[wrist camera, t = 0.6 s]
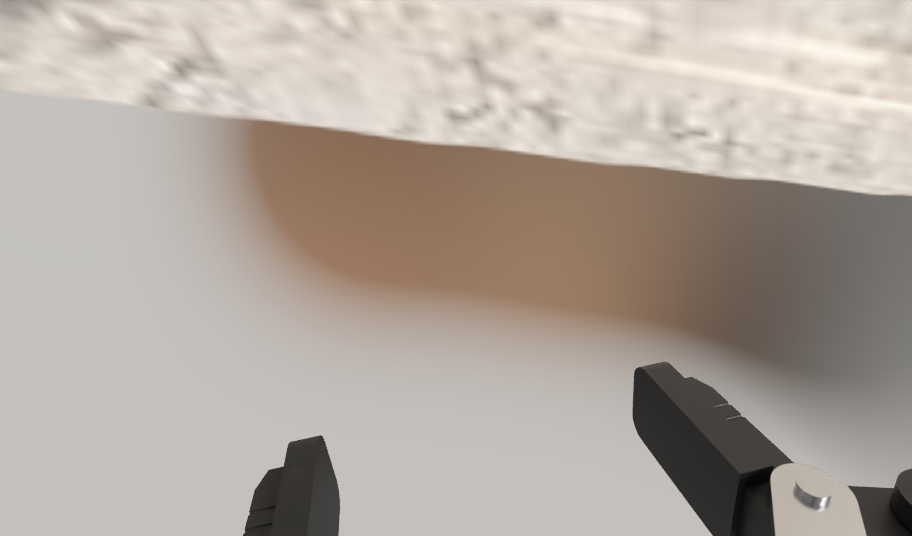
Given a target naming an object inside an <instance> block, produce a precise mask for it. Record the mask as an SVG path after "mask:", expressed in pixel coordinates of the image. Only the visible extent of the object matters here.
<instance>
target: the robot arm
mask: <svg viewBox="0 0 912 536" xmlns="http://www.w3.org/2000/svg"><path fill="white" fill-rule="evenodd" d="M633 421H634V425H635V428H636V430H637V433H638V435H639V436H640V438H641V439H642V441H643V442H644V444H645V445H646V446H647V448H648V449H649V450H650V452H651V453H652V454H653V456H654V457H655V458H656V460H657V461H658V462H659V464H660V465H661V466H662V468H663V469H664V471H665V472H666V473H667V475H668V476H669V477H670V478H671V480H672V481H673V483H674V484H675V485H676V487H677V488H678V489H679V491H680V492H681V493H682V494H683V496H684V497H685V499H686V500H687V501H688V503H689V504H690V506H691V507H692V508H693V510H694V511H695V512H696V514H697V515H698V516H699V518H700V519H701V520H702V522H703V523H704V524H705V526H706V527H707V528H708V530H709V531H710V532H711V534H712V535H713V536H912V469H909V470H906V471H904V472H902V473H900V475H899V476H898V478H897V481H896V484H895V486H894V488H876V487H857V486H856V487H855V486H847V485H845V484H844V483H843V482H842V481H841V480H839V479H838V478H836V477H835V476H833V475H832V474H830V473H828V472H826V471H824V470H822V469H819V468H816V467H813V466H810V465H805V464H797V463H793V462H792V461H791V460H790V459H789V458H788V457H787V456H786V455H784V453H783V452H781V451H780V450H779V449H778V448H777V447H776V446H775V445H774V444H773V443H772V442H771V441H769V440H768V439H767V438H766V437H765V436H764V435H763V434H762V433H761V432H760V431H759V430H758V429H757V428H755V427H754V426H753V425H752V424H751V423H750V422H749V421H748V420H747V419H746V418H744V417H742V416H741V414H740V413H739V412H738V411H737V410H736V409H735V408H734V407H733V406H732V405H729V404H728V402H727V401H726V400H725V399H724V398H723V397H722V396H721V395H720V394H719V393H717V391H715V390H714V389H713V388H712V387H710V386H708V385H706V384H704V383H702V382H700V381H698V380H697V379H694V378H693V377H689V378H684V377H683V376H682V375H681V374H680V373H679V372H678V371H677V370H676V369H675V368H674V367H673V366H672V365H670V364H669V363H667V362H661V363H656V364H652V365H647V366H643V367H639V368H637V369H636V370H635V373H634V392H633ZM249 512H250V515H249V516H248V519H247V523H246V527H245V534H243V536H338V533H339V514H340V498H339V490H338V484H337V480H336V476H335V474H334V470H333V467H332V463H331V460H330V457H329V454H328V451H327V447H326V444H325V441H324V438H323V437H322V436H316V437H312V438H307V439H302V440H298V441H293V442H290V443H289V445H288V448H287V453H286V458H285V463H284V467H280V468H276V469H271V470H268V472H267V473H266V475H265V476H264V478H263V479H262V481H261V482H260V484H259V485H258V486H257V488H256V489H255V492H254V495H253V500H252V503H251V507H250V511H249Z"/></svg>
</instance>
